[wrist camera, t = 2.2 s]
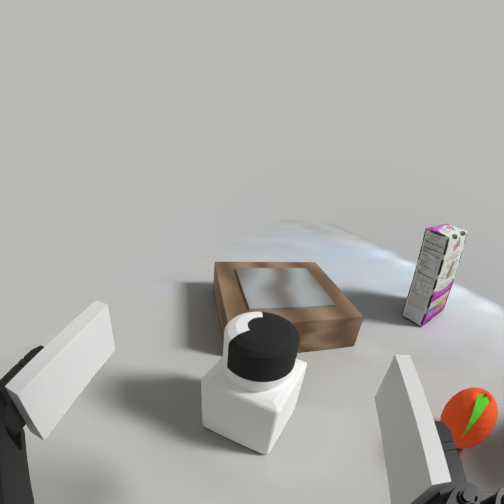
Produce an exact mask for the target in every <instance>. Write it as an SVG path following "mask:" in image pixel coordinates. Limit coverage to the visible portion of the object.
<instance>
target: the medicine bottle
mask: <svg viewBox="0 0 504 504" xmlns="http://www.w3.org/2000/svg"><path fill="white" fill-rule="evenodd" d="M299 343H300V334H299V332H298V330H297V329H296V327H295V326H294V325H293V324H292V323H291V322H290V321H289V320H287V319H285V318H284V317H281V316H279V315H276V314H273V313H268V312H248V313H243V314H240V315H238V316H236V317H235V318H233V319H232V320H231V321H229V322H228V324H227V325H226V327H225V330H224V346H223V357H222V358H221V359H220V360H219V361H218V362H217V364H216V365H215V366H214V367H213V368H212V369H211V370H210V371H209V372H208V373H207V374H206V375H205V376H204V377H203V378H202V380H201V395H202V424H203V426H204V427H206V428H208V429H210V430H212V431H214V432H216V433H218V434H220V435H222V436H224V437H226V438H228V439H230V440H232V441H234V442H237V443H239V444H241V445H243V446H245V447H248V448H250V449H252V450H255V451H257V452H259V453H262V454H265V455H266V454H268V453H269V452H270V450H271V448H272V447H273V445H274V443H275V442H276V440H277V438H278V437H279V435H280V433H281V432H282V430H283V428H284V426H285V425H286V423H287V421H288V419H289V418H290V416H291V414H292V412H293V411H294V408H295V405H296V402H297V398H298V395H299V392H300V388H301V385H302V381H303V378H304V374H305V370H306V367H307V364H306V362H304V361H301V360H298V359H296V356H297V352H298V348H299Z"/></svg>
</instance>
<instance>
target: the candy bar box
mask: <svg viewBox="0 0 504 504" xmlns="http://www.w3.org/2000/svg"><path fill="white" fill-rule="evenodd" d="M466 235H467V231H465V230H463V229H460V228H458V227H455V226H453V225H450V224H445V225H440V226H435V227H430V228H426V229H425V234H424V238H423V242H422V246H421V250H420V254H419V258H418V262H417V266H416V270H415V273H414V277H413V280H412V284H411V287H410V290H409V293H408V297H407V300H406V303H405V306H404V309H403V312H402V316H403V317H404V318H406V319H408V320H410V321H411V322H413V323H415V324H417V325H418V326H420V327H422V326H423V325H425V324H426V323H427V322H428V321H430V320H431V319H432V318H433V317H434V316H436V315H437V314H438V313H440V312H441V311H442V310H443V309H444V307H445V304H446V301H447V298H448V296H449V293H450V290H451V287H452V284H453V281H454V277H455V274H456V271H457V268H458V265H459V261H460V258H461V254H462V250H463V247H464V243H465V239H466Z"/></svg>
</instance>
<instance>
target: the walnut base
mask: <svg viewBox="0 0 504 504" xmlns="http://www.w3.org/2000/svg"><path fill="white" fill-rule="evenodd" d="M214 294H215V299H216V305H217V310H218V315H219V321H220V326H221V331H222V336H223V341H224V330H225V327H226V325H227V324H228V322H229V321H231V320H232V319H233V318H235V317H236V316H238V315H240V314H243V313H248V312H268V313H273V314H276V315H279V316H281V317H284V318H285V319H287V320H289V321H290V322H291V323H292V324H293V325H294V326H295V327H296V329H297V330H298V332H299V334H300V343H299V348H298V352H308V351H317V350H326V349H334V348H342V347H349V346H354V344H355V342H356V339H357V336H358V332H359V329H360V326H361V323H362V320H363V316H362V314H361V313H360V312H359V311H358V310H357V309H356V308H355V306H354V305H353V304H352V303H351V302H350V301H349V300H348V298H347V297H346V296H345V295H344V294H343V293H342V292H341V291H340V289H339V288H338V287H337V286H336V285H335V284H334V283H333V282H332V280H331V279H330V278H329V277H328V276H327V275H326V274H325V273H324V272H323V270H322V269H321V268H320V267H319V266H318V265H317V264H316V263H315V262H215V268H214Z"/></svg>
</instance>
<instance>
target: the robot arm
mask: <svg viewBox="0 0 504 504" xmlns="http://www.w3.org/2000/svg"><path fill="white" fill-rule="evenodd" d="M114 350H115V346H114V340H113V335H112V329H111V322H110V316H109V309H108V304H105V303H101V302H98V301H94V302H93V303H92V304H91V305H90V306H89V307H87V308H86V309H85V310H84V311H83V312H82V313H81V314H80V315H79V316H77V317H76V318H75V319H74V320H73V321H72V322H71V323H70V324H69V325H68V326H66V327H65V328H64V329H63V330H62V331H61V332H60V333H59V334H58V335H57V336H56V337H55V338H54V339H52V340H51V341H50V342H49V343H48V344H47V345H46V346H45V347H43V346H39V347H37V348H35V349H33V350H31V351H30V352H29V353H28V354H27V355H26V356H24V359H21V360H20V361H19V362H18V364H16V365H15V366H14V367H13V368H12V369H11V370H10V371H9V372H8V373H7V374H6V375H5V376H4V377H3V378H2V379H1V380H0V504H34V499H33V494H32V488H31V483H30V476H29V469H28V462H27V453H26V442H25V433H24V429H23V427H24V426H25V424H26V425H27V426H28V428H29V429H30V431H31V432H32V433H33V434H35V435H36V436H38V437H39V438H41V439H43V440H44V441H45V439H46V438H47V436H48V435H49V434H50V432H51V431H52V430H53V428H54V427H55V426H56V424H57V423H58V422H59V420H60V419H61V418H62V416H63V415H64V414H65V412H66V411H67V410H68V409H69V407H70V406H71V405H72V403H73V402H74V401H75V399H76V398H77V397H78V396H79V394H80V393H81V392H82V390H83V389H84V388H85V387H86V385H87V384H88V383H89V381H90V380H91V379H92V378H93V376H94V375H95V374H96V373H97V371H98V370H99V369H100V368H101V366H102V365H103V364H104V363H105V361H106V360H107V359H108V358H109V356H110V355H111V354H112V353H113V352H114ZM375 402H376V407H377V412H378V418H379V423H380V429H381V435H382V441H383V447H384V453H385V460H386V467H387V475H388V482H389V491H390V500H391V504H504V487H503V488H501V489H500V490H499V491H498V492H496V493H488V492H479V490H478V488H477V487H476V486H475V485H473V484H471V483H468V482H467V480H466V478H465V474H464V471H463V467H462V464H461V461H460V458H459V454H458V451H456V449H457V448H456V445H455V443H454V439H453V436H452V433H451V430H450V429H449V428H448V427H447V425H446V424H445V423H444V422H434V420H433V417H432V414H431V411H430V408H429V405H428V402H427V399H426V396H425V394H424V391H423V388H422V385H421V383H420V380H419V377H418V375H417V372H416V370H415V367H414V364H413V362H412V359H411V357H410V355H395V356H394V358H393V360H392V362H391V365H390V367H389V369H388V371H387V373H386V375H385V377H384V379H383V382H382V384H381V386H380V388H379V390H378V392H377V394H376V395H375Z"/></svg>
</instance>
